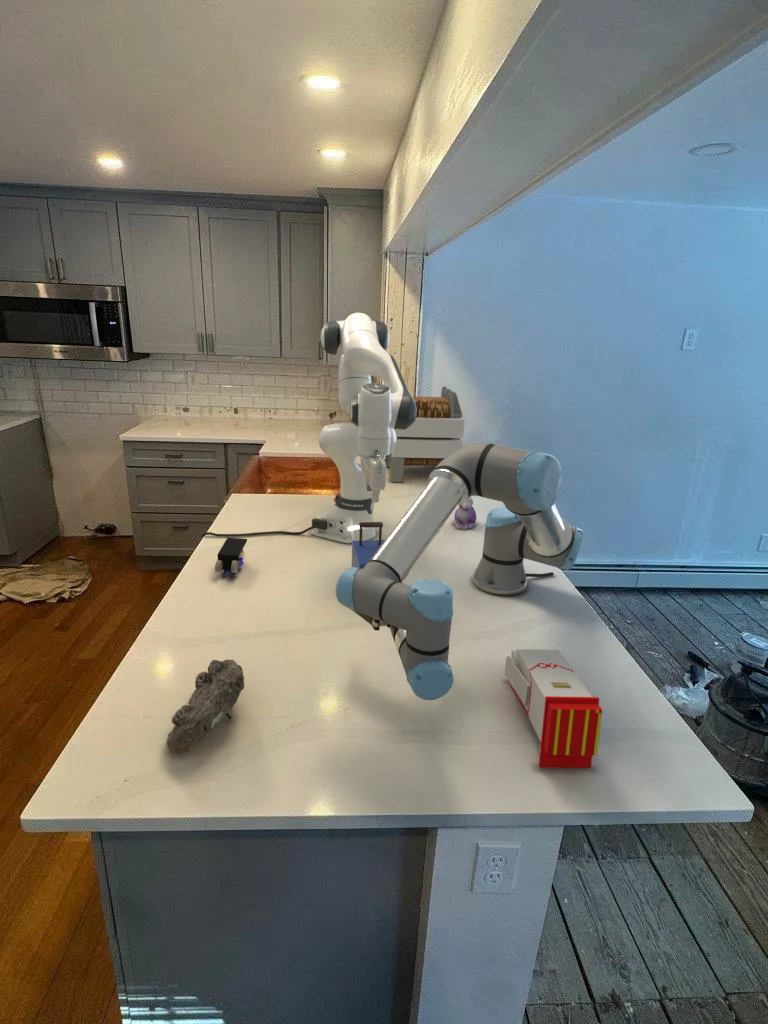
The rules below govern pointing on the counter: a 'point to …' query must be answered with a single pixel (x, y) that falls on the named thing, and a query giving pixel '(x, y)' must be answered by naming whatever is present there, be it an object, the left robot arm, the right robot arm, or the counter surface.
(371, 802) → the counter surface
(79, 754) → the counter surface
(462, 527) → the figurine
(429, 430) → the transformer
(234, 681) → the fossil
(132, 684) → the counter surface
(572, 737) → the toy
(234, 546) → the figurine character
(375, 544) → the lid
